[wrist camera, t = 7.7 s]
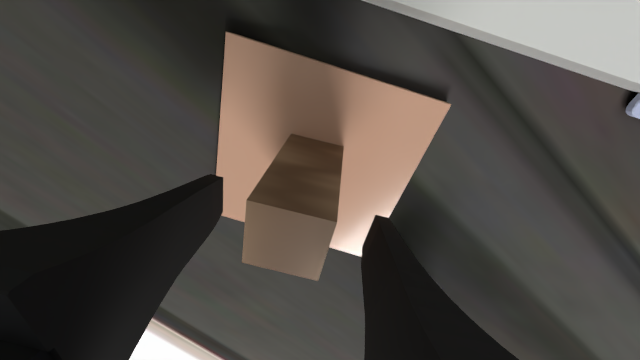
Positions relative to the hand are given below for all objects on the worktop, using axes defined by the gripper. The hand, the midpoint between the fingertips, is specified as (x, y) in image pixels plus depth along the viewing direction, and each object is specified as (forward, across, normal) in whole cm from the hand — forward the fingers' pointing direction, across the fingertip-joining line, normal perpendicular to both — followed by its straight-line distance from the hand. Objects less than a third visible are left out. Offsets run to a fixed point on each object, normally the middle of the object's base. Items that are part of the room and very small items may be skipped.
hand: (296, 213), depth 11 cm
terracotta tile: (+5, 0, 0) cm, 5 cm away
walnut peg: (+5, 0, 0) cm, 5 cm away
